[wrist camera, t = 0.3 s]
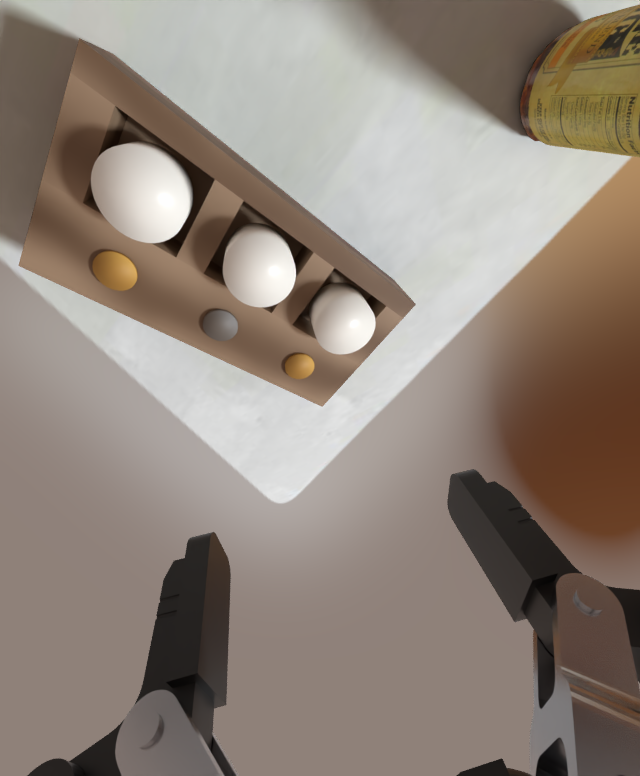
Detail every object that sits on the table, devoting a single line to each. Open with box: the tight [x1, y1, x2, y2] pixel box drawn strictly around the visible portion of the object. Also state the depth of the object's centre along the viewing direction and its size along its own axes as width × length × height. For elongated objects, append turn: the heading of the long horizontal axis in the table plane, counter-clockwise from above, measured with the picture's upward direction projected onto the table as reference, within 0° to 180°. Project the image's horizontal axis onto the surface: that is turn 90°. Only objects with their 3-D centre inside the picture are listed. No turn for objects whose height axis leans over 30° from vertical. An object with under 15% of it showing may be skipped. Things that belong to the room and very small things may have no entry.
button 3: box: [309, 282, 376, 354], centre depth 25 cm, size 4×4×3 cm
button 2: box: [223, 223, 296, 307], centre depth 22 cm, size 4×4×3 cm
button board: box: [19, 38, 416, 406], centre depth 25 cm, size 12×23×5 cm, turn 52°
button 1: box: [91, 141, 194, 243], centre depth 18 cm, size 4×4×3 cm
